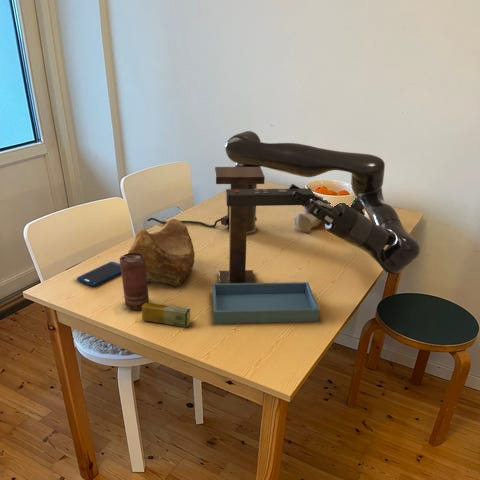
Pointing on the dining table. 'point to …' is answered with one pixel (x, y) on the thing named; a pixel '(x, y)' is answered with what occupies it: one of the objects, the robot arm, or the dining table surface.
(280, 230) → the dining table surface
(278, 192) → the remote
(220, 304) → the tray
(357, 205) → the gun
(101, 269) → the cell phone
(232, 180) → the stand
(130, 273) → the can
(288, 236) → the dining table surface
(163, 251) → the rough brown rock
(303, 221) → the ceramic sculpture
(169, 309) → the medication box
